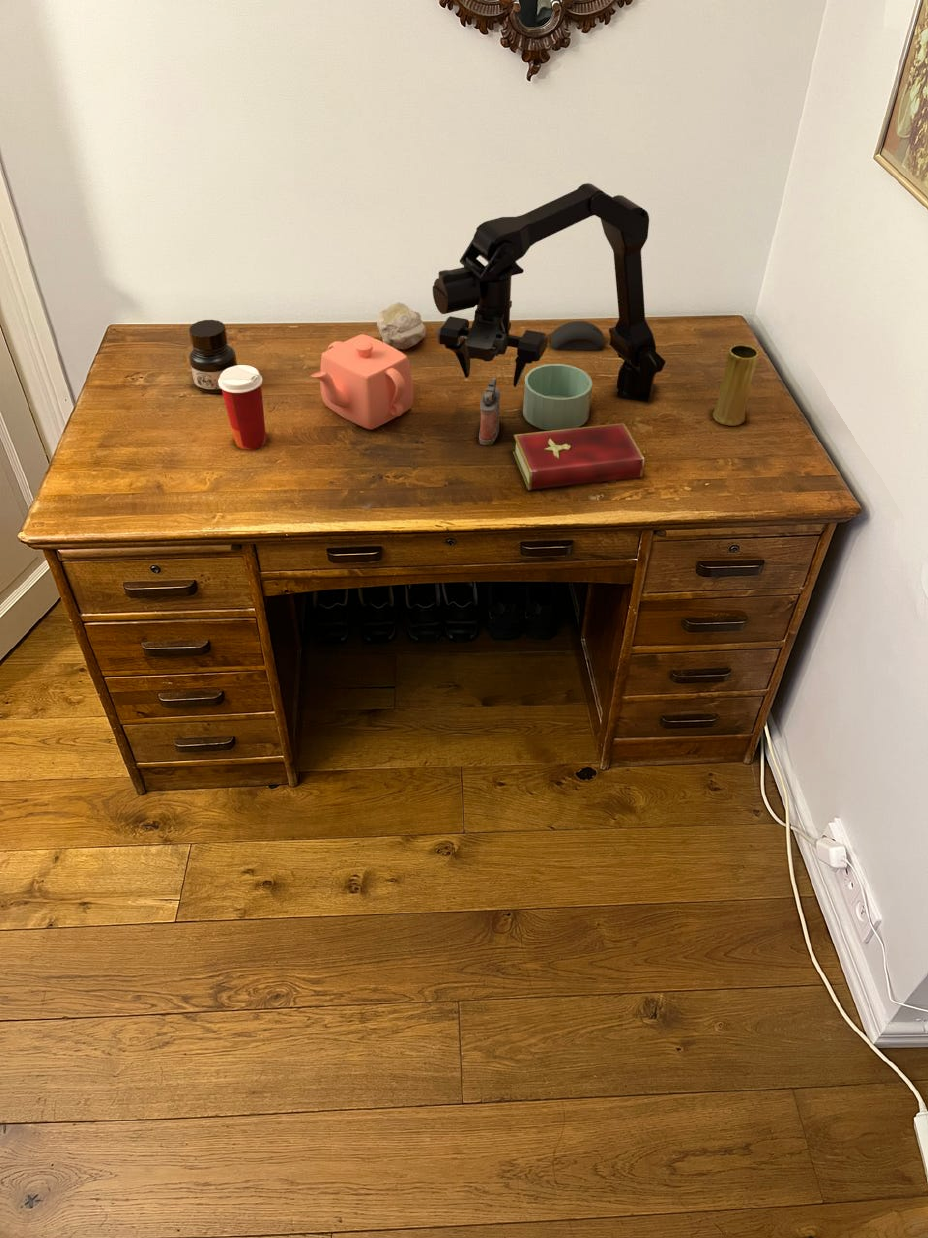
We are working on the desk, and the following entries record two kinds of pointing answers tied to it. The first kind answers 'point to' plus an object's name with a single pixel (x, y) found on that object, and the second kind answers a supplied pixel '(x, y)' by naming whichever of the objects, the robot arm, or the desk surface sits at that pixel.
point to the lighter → (489, 413)
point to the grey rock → (400, 326)
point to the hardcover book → (578, 456)
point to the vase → (735, 385)
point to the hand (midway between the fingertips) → (491, 381)
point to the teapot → (365, 381)
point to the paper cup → (244, 405)
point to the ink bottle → (210, 354)
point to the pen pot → (557, 397)
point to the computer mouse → (577, 337)
